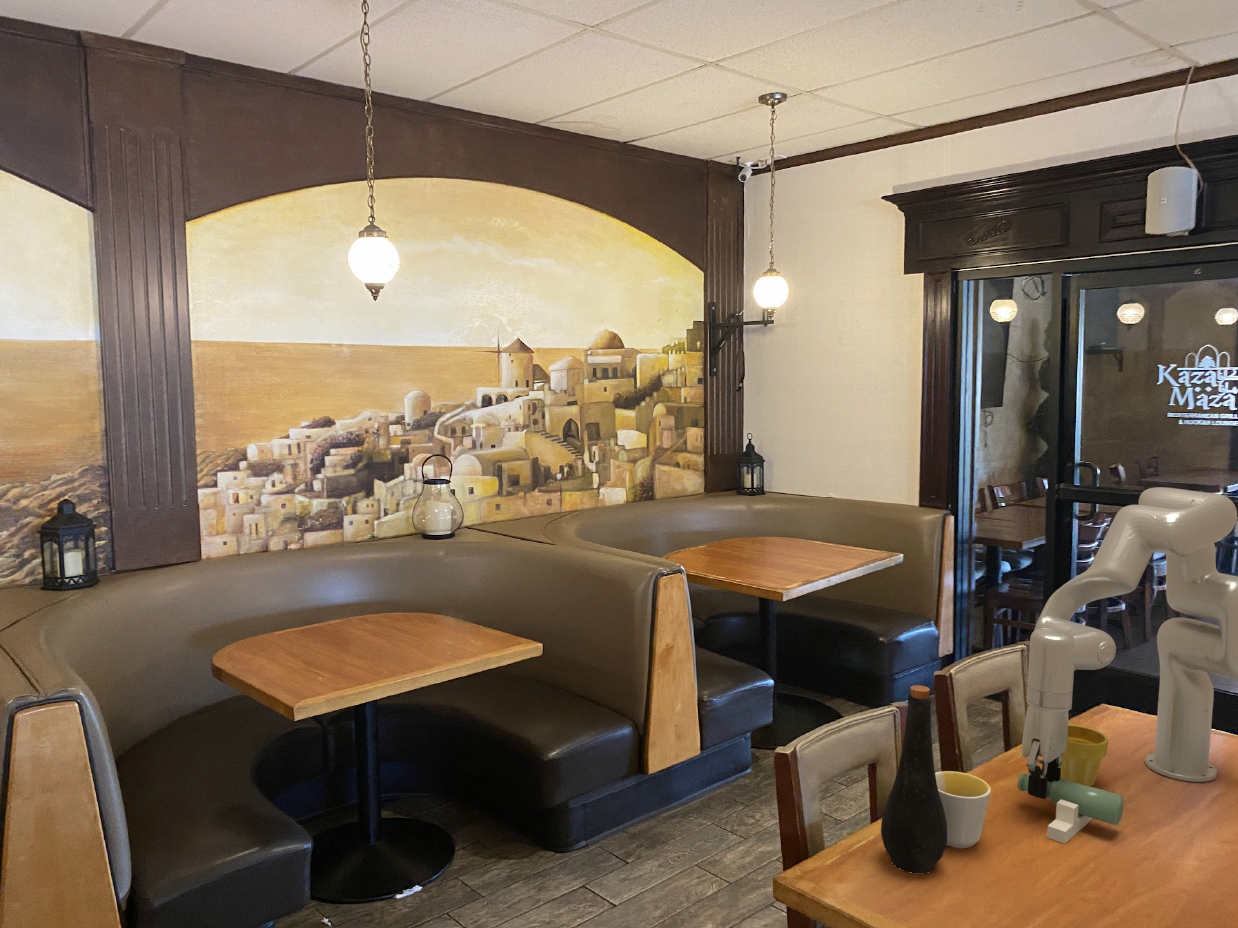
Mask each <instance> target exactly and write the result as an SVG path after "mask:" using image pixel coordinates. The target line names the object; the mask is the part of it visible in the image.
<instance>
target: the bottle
mask: <svg viewBox="0 0 1238 928" xmlns="http://www.w3.org/2000/svg"><path fill="white" fill-rule="evenodd" d="M909 689H910V694H908V695H907V698H906V699H907V700H906V701H907V709H906V719H905V728H904V736H903V739H902V740H903V741H902V747H901V752H900V753H901V754H900V759H899V764H898V767H897V771H896V775H895V779H894V782H893V785H892V788H891V790H890V792H889V794H888V796H887V799H886V801H885V805H884V807H883V812H882V817H881V822H880V823H881V824H880V834H881V840H882V843H883V847H884V850H885V851H886V853H887V854H888V856H889V858H890V863H891V862H892V863H893V864H892V863H891V864H892V865H893V866H894V865H895V866H896V867H897V868H896V867H895V866H894V867H895V868H896V869H898V868H900V869H901V870H900V869H899V870H900V871H902V870H904V871H903V872H905V871H906V872H905V873H908V872H912V873H911V874H913V873H918V874H917V875H922V874H921V873H926V874H929V873H931V871H932V870H933V869H934V868H935V867H936V865H937V864H938V862H939V861H940V860H941V859H942V858H943V856H944V853H945V850H946V847H947V845H946V844H947V821H946V816H945V812H944V808H943V804H942V801H941V798H940V795H939V791H938V787H937V782H936V776H935V773H936V771H935V762H934V761H935V759H934V753H933V751H934V750H933V737H932V711H931V710H932V708H931V707H932V706H931V705H932V703H933V700H932V699H933V698H932V697H931V696H929V694H930V690H931V689H930V688H929V687H928V686H925V685H918V684H917V685H912V686H910V688H909ZM934 870H935V869H934ZM934 870H933V871H934ZM933 871H932V872H933ZM928 872H929V873H928ZM919 873H920V874H919Z"/></svg>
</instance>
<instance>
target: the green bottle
mask: <svg viewBox="0 0 1238 928" xmlns="http://www.w3.org/2000/svg"><path fill="white" fill-rule="evenodd" d="M1028 780H1029V774H1028V773H1023V772H1022V773H1020V775H1019V776H1018V779H1017V788H1018V790H1019V791H1022V792H1028ZM1047 798H1048V799H1049V802H1051V803H1054V806H1055V808H1056V807H1057V802H1058V801H1060V800H1061V799H1062V800H1065V801H1068V802H1071V803H1074V804H1077V805H1079V807H1078V814H1081V815H1084V816H1087V817H1090V818H1093V819H1095V820H1097V821H1100V822H1104V823H1107V824H1111V825H1112V826H1113V825H1114V826H1118V825H1119V824H1120V822H1121V820H1122V817H1123V811H1124V798H1123V796H1122V795H1121V794H1117V793H1114V792H1111V791H1107V790H1105V789H1104V790H1103V789H1100V788H1097V787H1093V786H1086V785H1083V784H1079V783H1076V782H1072V781H1069V780H1065V779H1060V780H1059V781H1055V780H1054V781H1053V782H1047Z"/></svg>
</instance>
